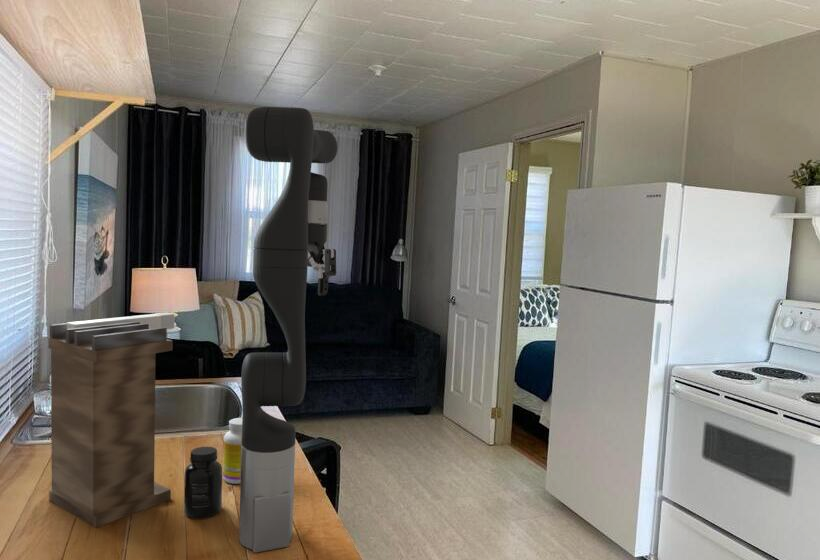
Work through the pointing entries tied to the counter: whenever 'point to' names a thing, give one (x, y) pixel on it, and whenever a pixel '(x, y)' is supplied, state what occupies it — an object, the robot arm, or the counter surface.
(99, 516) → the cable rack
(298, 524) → the counter surface
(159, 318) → the bar
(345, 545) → the counter surface
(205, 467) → the supplement bottle
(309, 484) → the counter surface
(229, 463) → the supplement bottle
